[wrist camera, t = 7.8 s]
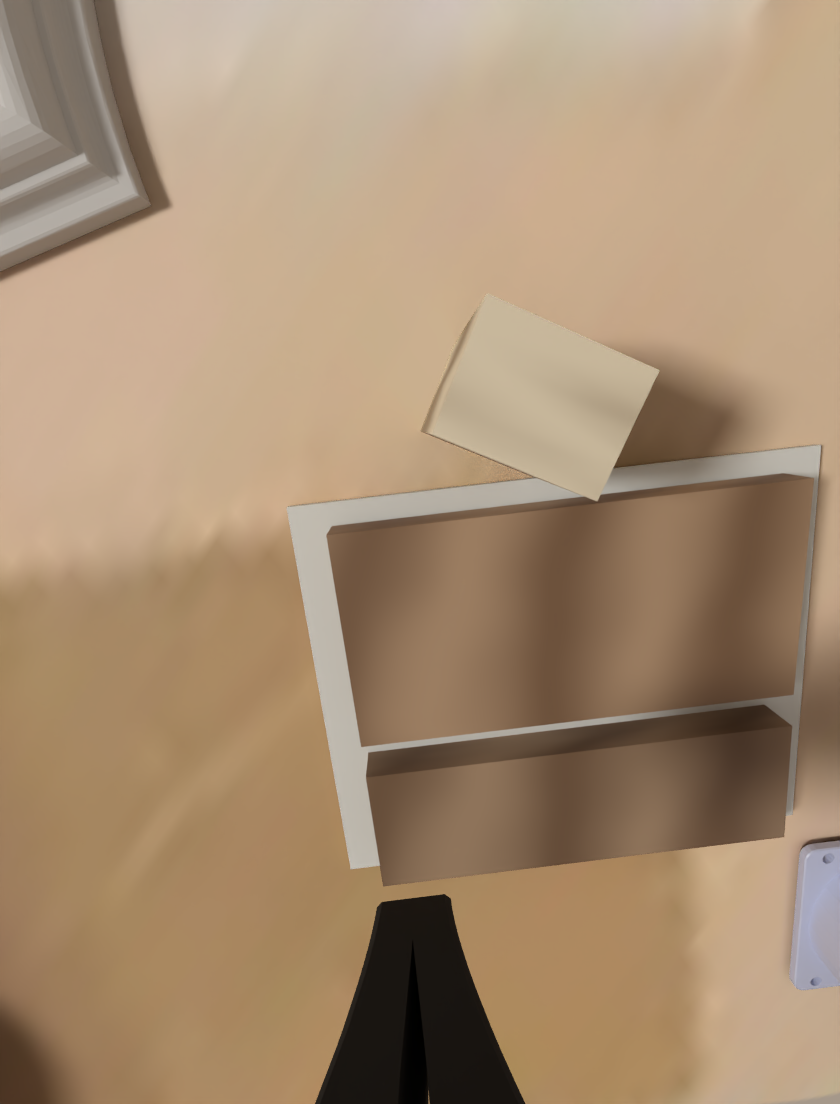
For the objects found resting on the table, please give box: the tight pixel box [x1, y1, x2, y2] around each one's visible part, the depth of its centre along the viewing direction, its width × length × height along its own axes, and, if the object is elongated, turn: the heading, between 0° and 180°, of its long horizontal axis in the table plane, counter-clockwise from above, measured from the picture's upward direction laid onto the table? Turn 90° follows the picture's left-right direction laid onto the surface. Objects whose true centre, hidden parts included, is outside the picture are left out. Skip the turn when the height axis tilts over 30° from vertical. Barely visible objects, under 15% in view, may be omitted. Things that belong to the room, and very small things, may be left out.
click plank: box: [326, 473, 814, 747], centre depth 18 cm, size 16×8×1 cm, turn 96°
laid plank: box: [366, 705, 792, 886], centre depth 20 cm, size 16×5×2 cm, turn 96°
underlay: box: [287, 445, 821, 869], centre depth 20 cm, size 19×16×1 cm
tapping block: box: [421, 293, 660, 501], centre depth 14 cm, size 7×4×3 cm
